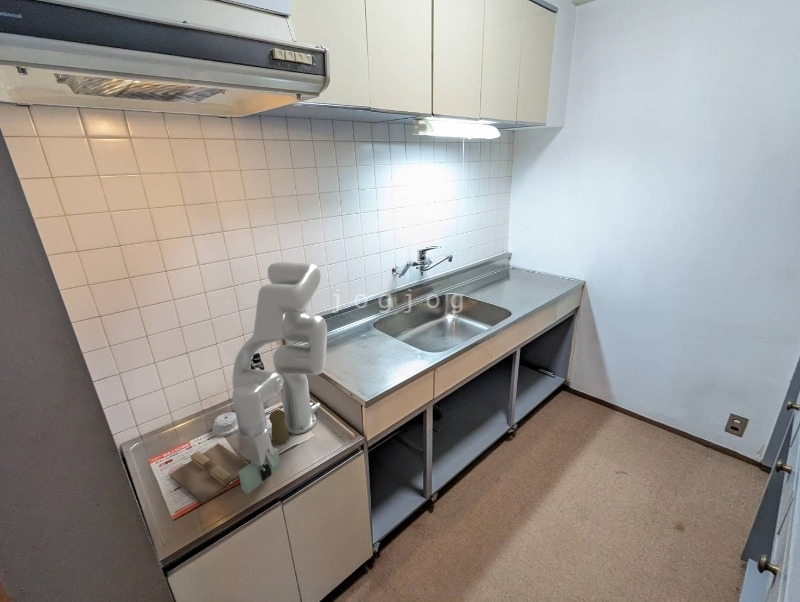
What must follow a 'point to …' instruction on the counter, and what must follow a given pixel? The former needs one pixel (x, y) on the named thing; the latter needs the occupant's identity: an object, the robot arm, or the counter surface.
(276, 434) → the cork
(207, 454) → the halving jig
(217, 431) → the mechanical component
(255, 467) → the sage plate
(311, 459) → the counter surface
